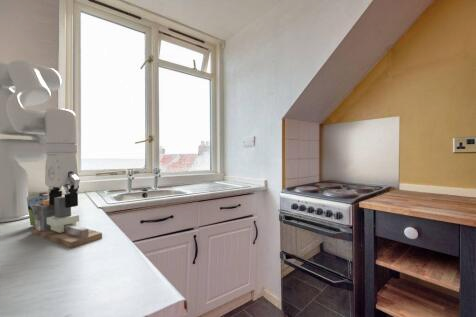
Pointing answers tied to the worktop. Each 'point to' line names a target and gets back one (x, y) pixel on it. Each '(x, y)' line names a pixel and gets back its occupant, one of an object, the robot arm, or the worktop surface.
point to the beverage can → (33, 200)
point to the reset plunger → (46, 202)
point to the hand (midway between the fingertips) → (63, 205)
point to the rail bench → (67, 238)
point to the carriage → (61, 216)
